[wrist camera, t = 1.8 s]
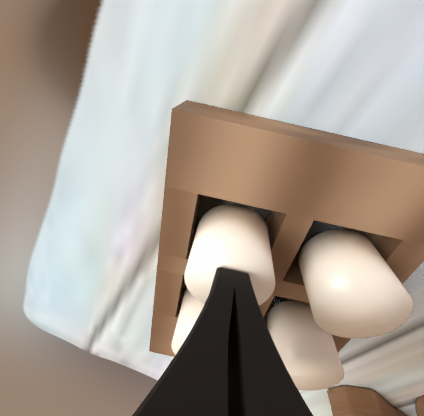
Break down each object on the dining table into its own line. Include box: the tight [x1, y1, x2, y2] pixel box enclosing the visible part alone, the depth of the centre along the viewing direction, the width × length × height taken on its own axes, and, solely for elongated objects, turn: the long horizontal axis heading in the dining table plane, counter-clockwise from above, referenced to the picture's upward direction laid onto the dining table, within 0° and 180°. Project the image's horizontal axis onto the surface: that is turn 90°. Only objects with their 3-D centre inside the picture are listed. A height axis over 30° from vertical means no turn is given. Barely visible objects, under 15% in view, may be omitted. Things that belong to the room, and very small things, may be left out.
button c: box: [298, 229, 413, 338], centre depth 12 cm, size 4×4×4 cm
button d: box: [266, 300, 344, 390], centre depth 15 cm, size 4×4×4 cm
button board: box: [149, 100, 424, 357], centre depth 16 cm, size 14×20×4 cm
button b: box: [171, 289, 204, 355], centre depth 15 cm, size 4×4×4 cm
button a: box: [184, 204, 275, 305], centre depth 12 cm, size 4×4×4 cm
